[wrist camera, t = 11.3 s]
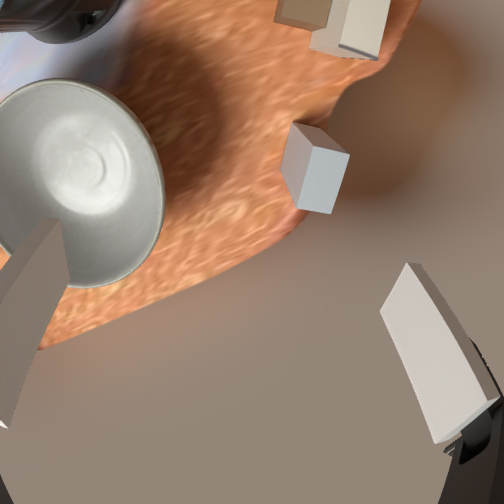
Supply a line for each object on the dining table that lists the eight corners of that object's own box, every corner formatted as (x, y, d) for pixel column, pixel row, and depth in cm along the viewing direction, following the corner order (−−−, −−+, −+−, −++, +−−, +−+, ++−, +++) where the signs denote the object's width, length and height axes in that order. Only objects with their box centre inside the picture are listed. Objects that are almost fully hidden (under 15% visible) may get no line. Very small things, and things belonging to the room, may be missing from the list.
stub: (280, 169, 43) (296, 208, 33) (291, 121, 39) (313, 146, 29) (307, 174, 43) (330, 214, 34) (320, 128, 40) (350, 154, 30)
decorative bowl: (218, 128, 39) (214, 155, 29) (132, 265, 51) (114, 317, 41) (58, 42, 29) (7, 45, 19) (5, 193, 40) (-35, 231, 31)
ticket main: (269, 39, 33) (285, 32, 23) (283, -21, 28) (304, -48, 18) (338, 57, 34) (378, 60, 24) (352, -1, 29) (395, -15, 19)
